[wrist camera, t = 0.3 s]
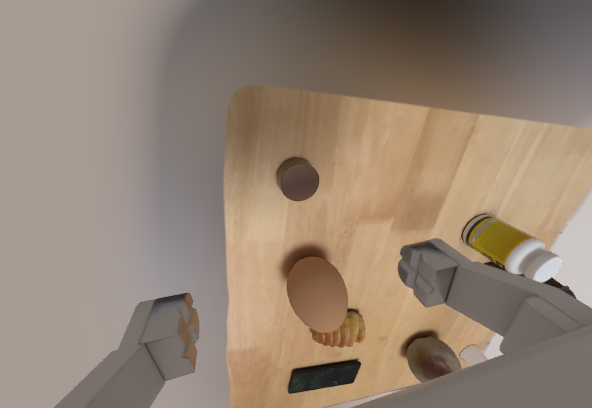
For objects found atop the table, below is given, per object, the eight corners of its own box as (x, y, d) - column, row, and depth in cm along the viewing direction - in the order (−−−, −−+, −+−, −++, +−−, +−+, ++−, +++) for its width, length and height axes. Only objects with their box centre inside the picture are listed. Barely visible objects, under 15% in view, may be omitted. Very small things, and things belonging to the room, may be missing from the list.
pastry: (308, 339, 44) (314, 360, 41) (312, 313, 42) (319, 333, 38) (354, 331, 47) (363, 350, 44) (360, 306, 44) (371, 324, 41)
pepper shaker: (479, 342, 63) (524, 388, 53) (473, 354, 65) (515, 401, 56) (462, 347, 62) (505, 395, 52) (456, 360, 64) (496, 408, 54)
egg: (291, 239, 34) (316, 299, 24) (337, 248, 36) (374, 305, 27) (273, 281, 36) (289, 350, 27) (317, 286, 39) (345, 351, 30)
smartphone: (293, 374, 46) (362, 364, 51) (292, 368, 47) (359, 359, 51) (288, 394, 49) (353, 383, 53) (287, 389, 50) (351, 378, 54)
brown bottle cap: (274, 160, 28) (278, 166, 26) (312, 155, 29) (318, 161, 27) (278, 196, 30) (282, 204, 28) (313, 190, 31) (319, 197, 29)
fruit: (445, 331, 56) (494, 388, 45) (420, 358, 59) (462, 417, 48) (416, 326, 52) (463, 387, 41) (391, 355, 54) (429, 419, 44)
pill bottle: (455, 242, 43) (520, 288, 33) (472, 211, 40) (548, 251, 31) (479, 244, 45) (548, 287, 35) (497, 214, 42) (576, 253, 33)
